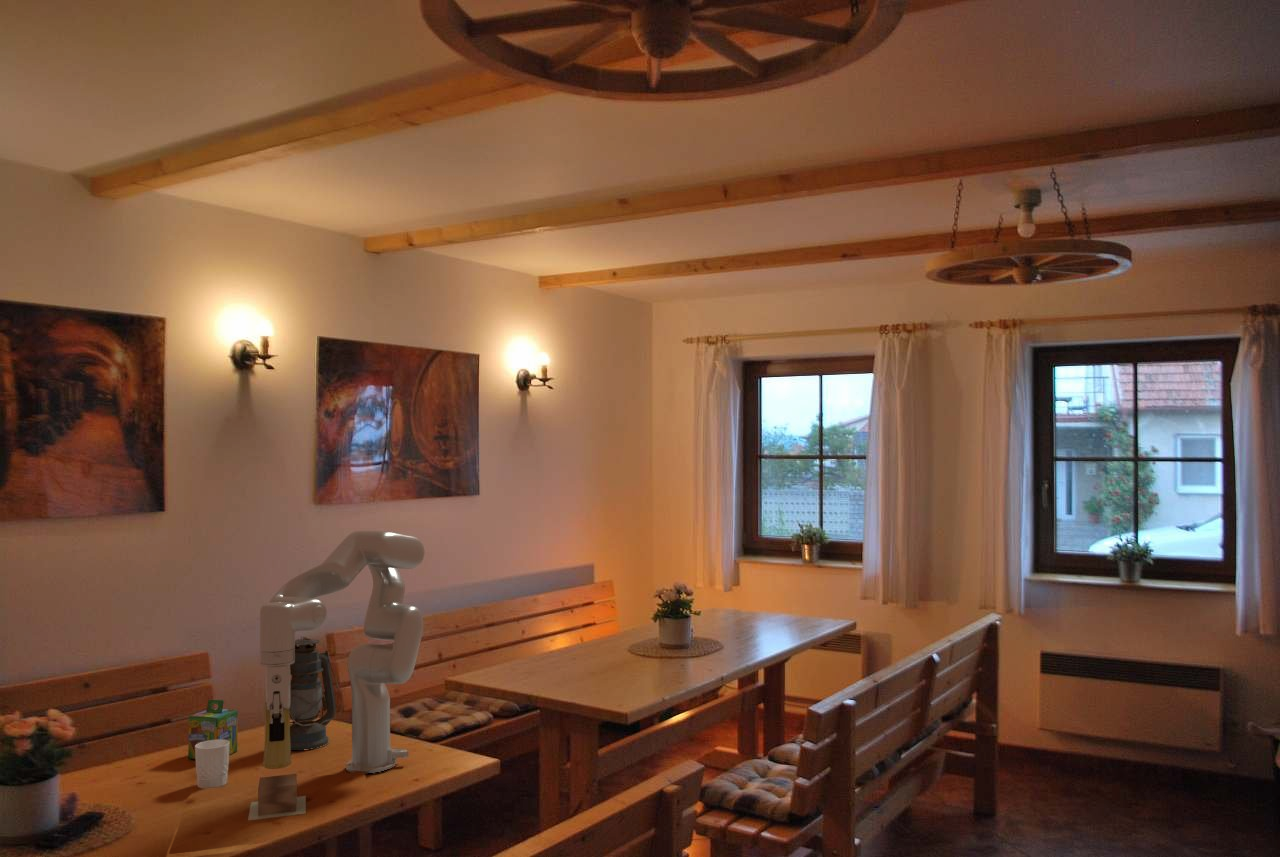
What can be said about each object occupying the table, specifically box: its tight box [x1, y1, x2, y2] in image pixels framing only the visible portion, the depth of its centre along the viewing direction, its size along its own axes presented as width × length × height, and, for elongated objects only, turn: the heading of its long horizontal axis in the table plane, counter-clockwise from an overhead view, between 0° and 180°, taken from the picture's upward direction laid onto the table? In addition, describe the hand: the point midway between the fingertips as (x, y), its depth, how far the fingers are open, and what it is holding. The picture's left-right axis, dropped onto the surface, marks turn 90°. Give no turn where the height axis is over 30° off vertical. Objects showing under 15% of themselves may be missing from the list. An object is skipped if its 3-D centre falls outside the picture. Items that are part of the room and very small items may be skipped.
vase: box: [262, 701, 292, 770], centre depth 224 cm, size 6×6×14 cm
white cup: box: [194, 739, 230, 790], centre depth 243 cm, size 8×8×10 cm
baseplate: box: [247, 795, 307, 821], centre depth 224 cm, size 12×12×1 cm
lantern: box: [289, 636, 343, 750], centre depth 276 cm, size 19×14×30 cm
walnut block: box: [257, 773, 298, 816], centre depth 224 cm, size 8×8×6 cm
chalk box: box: [187, 699, 239, 760], centre depth 267 cm, size 9×9×15 cm
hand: (277, 736), depth 224 cm, fingers closed on vase, 5 cm apart
